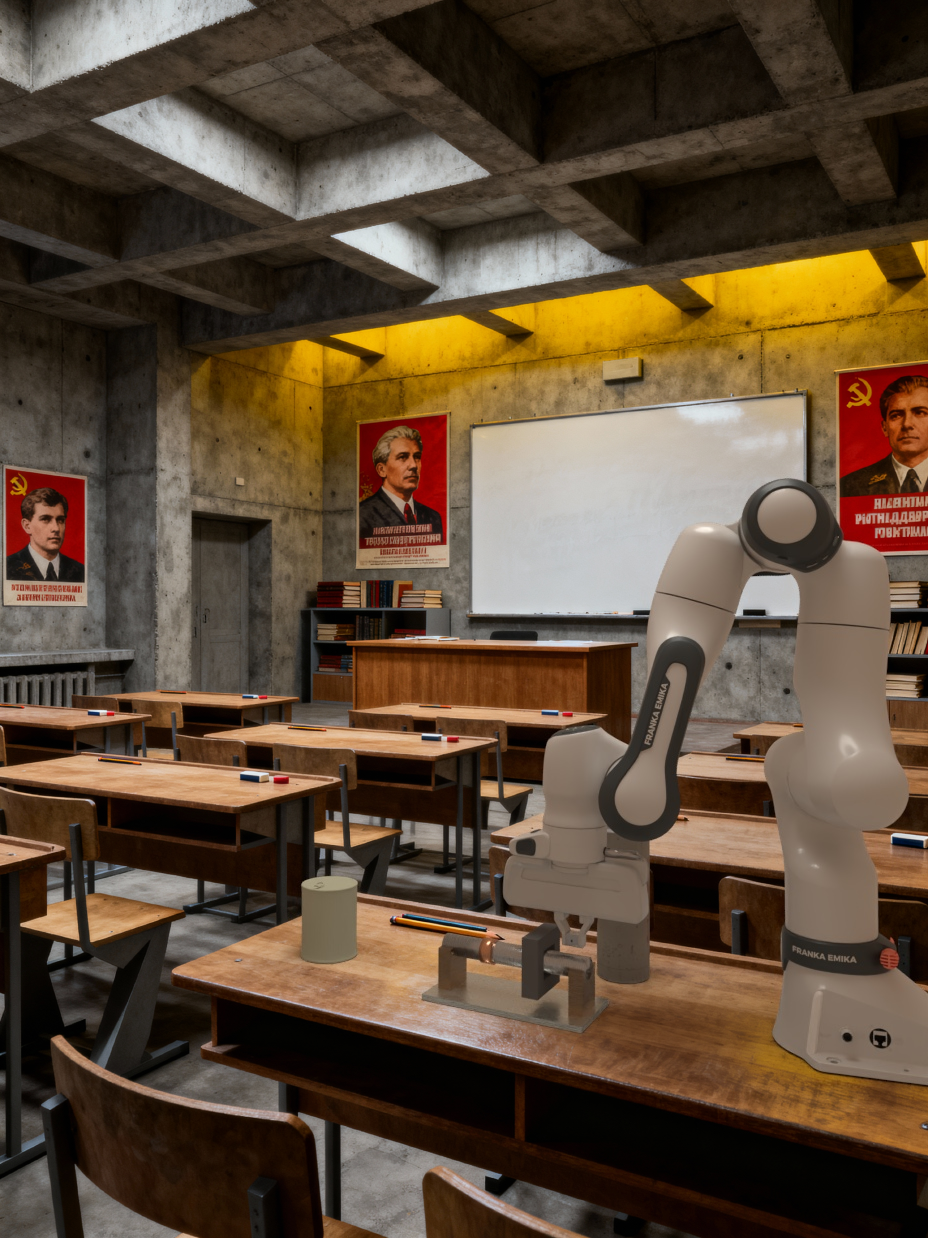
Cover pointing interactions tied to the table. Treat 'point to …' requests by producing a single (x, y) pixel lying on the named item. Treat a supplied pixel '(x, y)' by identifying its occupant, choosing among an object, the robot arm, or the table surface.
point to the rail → (515, 984)
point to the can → (329, 919)
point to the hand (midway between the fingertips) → (573, 946)
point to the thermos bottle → (624, 932)
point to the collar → (538, 960)
